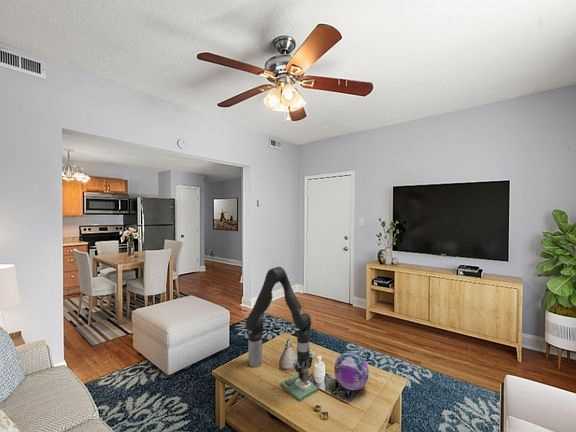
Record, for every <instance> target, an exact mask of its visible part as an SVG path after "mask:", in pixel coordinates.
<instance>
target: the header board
mask: <svg viewBox="0 0 576 432" xmlns="http://www.w3.org/2000/svg"><path fill="white" fill-rule="evenodd" d="M279 385H280V386H281V387H282V388H284V389H285V391H287V392H288V394H290V395H291V396H293V398H295V399H296V400H297V401H299V402H301V401H303V400H304V399H306V398H308V397H310V396H311V395H314V394H315V393H317V392H318V391H319V390H318V389H319V388H318V387H317V386H315V385H314V384H313V383H312V382H310V380H309V379H308V381H307V382H305V383H304V382H303V381H301V380H300V379H299V373H296V374H294V375H292V376H291V377H288V378H286V379H284V380H282V381H280V384H279Z"/></svg>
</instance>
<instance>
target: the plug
mask: <svg viewBox="0 0 576 432" xmlns="http://www.w3.org/2000/svg"><path fill="white" fill-rule="evenodd" d="M300 370H301V368H300ZM302 373H303V378H302V379H301V378H300V377H299V379H300V380H301V381H303V382H304V383H305V382H307V381H308V380H309V369H308V367H307V366H305V365H304V368H303V371H302Z"/></svg>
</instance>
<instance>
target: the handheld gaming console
mask: <svg viewBox="0 0 576 432" xmlns="http://www.w3.org/2000/svg"><path fill="white" fill-rule="evenodd" d="M316 354H317V353H316V352H313V351H310V356H311V357H313V358H314V357H315V356H316ZM296 358H297V359H298V357H297V356H296Z"/></svg>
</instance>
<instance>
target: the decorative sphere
mask: <svg viewBox="0 0 576 432" xmlns="http://www.w3.org/2000/svg"><path fill="white" fill-rule="evenodd" d="M333 370H334V375H335V378H336V381H337V382H338V383H339V385H340V386H342V387H343V388H344V389H346V390H348V391H358V390H361V389H362V388H363V387H365V386H366V384H367V383H368V380H369V374H370V372H369V368H368V364H367V361H366V360H365V359H364V358H363V356H361V355H360V354H358V353H357V352H354V351H346V352H343V353H341V354H339V355H338V356H337V358H336V360H335V362H334V367H333Z"/></svg>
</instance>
